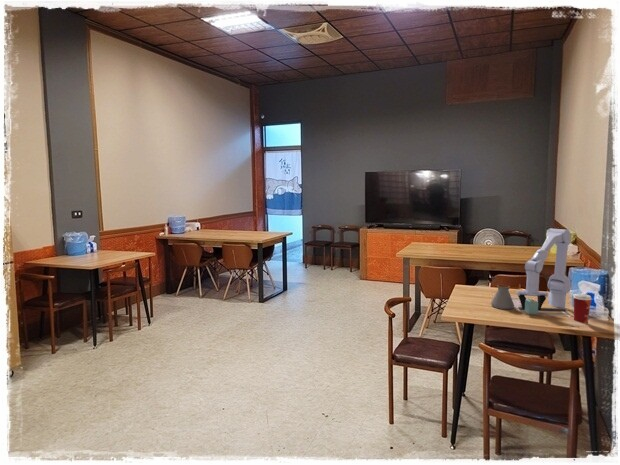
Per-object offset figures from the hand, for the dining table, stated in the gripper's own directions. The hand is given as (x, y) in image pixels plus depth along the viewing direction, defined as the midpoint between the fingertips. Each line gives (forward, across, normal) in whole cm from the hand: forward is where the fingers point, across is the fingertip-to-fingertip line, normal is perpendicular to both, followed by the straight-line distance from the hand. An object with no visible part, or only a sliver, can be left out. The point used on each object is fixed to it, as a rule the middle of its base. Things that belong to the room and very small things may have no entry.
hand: (531, 309), depth 222 cm
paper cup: (+3, +19, -11) cm, 22 cm away
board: (+3, +7, 0) cm, 8 cm away
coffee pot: (+3, -12, +14) cm, 18 cm away
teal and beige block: (+2, 0, 0) cm, 2 cm away
